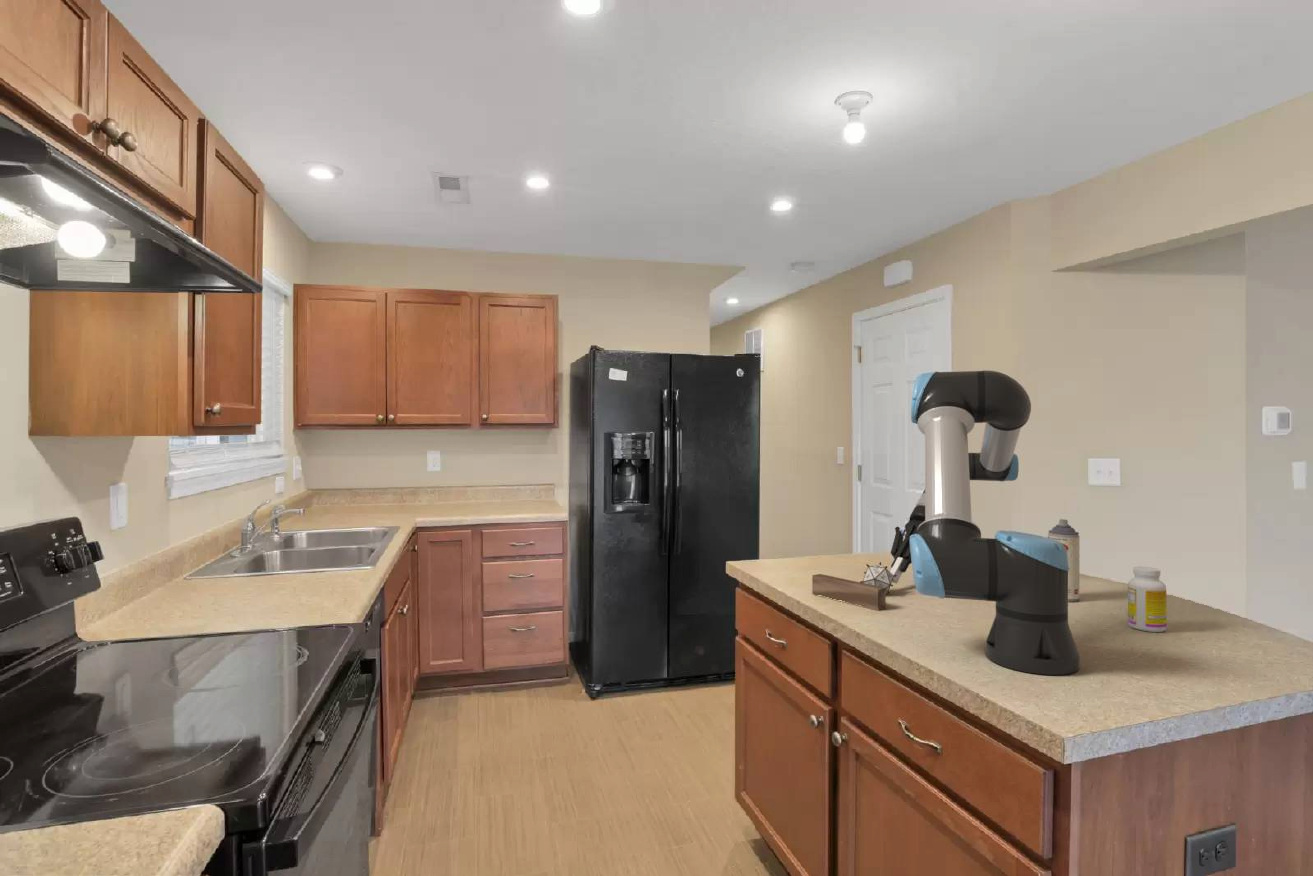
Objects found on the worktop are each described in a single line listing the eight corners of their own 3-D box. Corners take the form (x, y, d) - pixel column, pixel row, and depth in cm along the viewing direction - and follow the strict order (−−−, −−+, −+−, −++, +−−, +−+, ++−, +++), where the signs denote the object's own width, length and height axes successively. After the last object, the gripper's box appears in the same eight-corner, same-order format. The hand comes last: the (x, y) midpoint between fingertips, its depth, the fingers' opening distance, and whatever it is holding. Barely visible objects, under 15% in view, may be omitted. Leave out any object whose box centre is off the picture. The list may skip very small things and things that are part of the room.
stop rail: (877, 610, 158) (877, 589, 158) (812, 594, 174) (812, 575, 174) (885, 608, 160) (885, 587, 160) (820, 592, 176) (820, 573, 176)
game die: (885, 609, 173) (904, 583, 168) (855, 597, 173) (873, 571, 168) (882, 585, 181) (900, 560, 175) (853, 574, 181) (870, 548, 175)
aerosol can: (1041, 597, 170) (1041, 518, 170) (1060, 594, 173) (1060, 517, 173) (1066, 603, 164) (1067, 522, 164) (1085, 600, 167) (1085, 520, 166)
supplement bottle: (1172, 630, 142) (1172, 569, 142) (1157, 635, 138) (1157, 573, 138) (1136, 622, 148) (1136, 564, 148) (1121, 627, 144) (1121, 567, 144)
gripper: (955, 523, 184) (920, 593, 174) (912, 519, 194) (877, 584, 185) (944, 506, 181) (908, 575, 171) (902, 502, 191) (865, 567, 182)
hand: (892, 579), depth 178 cm, fingers closed
